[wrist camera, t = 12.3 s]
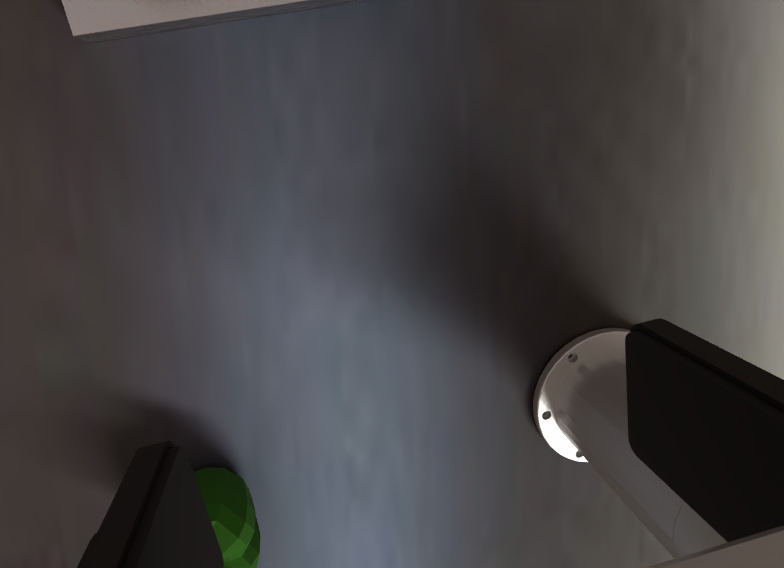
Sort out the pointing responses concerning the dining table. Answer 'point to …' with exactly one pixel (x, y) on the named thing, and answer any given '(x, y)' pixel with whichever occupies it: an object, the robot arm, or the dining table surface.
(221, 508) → the bell pepper
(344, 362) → the dining table surface
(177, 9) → the rail
